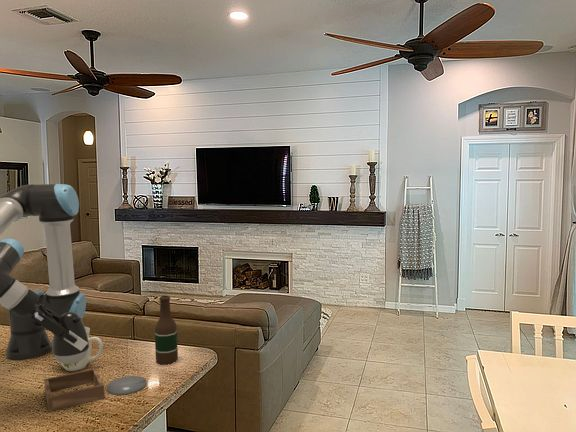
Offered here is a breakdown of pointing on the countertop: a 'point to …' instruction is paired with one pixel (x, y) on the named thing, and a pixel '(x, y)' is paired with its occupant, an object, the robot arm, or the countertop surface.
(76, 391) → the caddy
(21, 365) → the countertop surface
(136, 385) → the coaster
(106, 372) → the countertop surface
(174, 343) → the beer bottle
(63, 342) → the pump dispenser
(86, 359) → the pitcher
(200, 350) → the countertop surface
